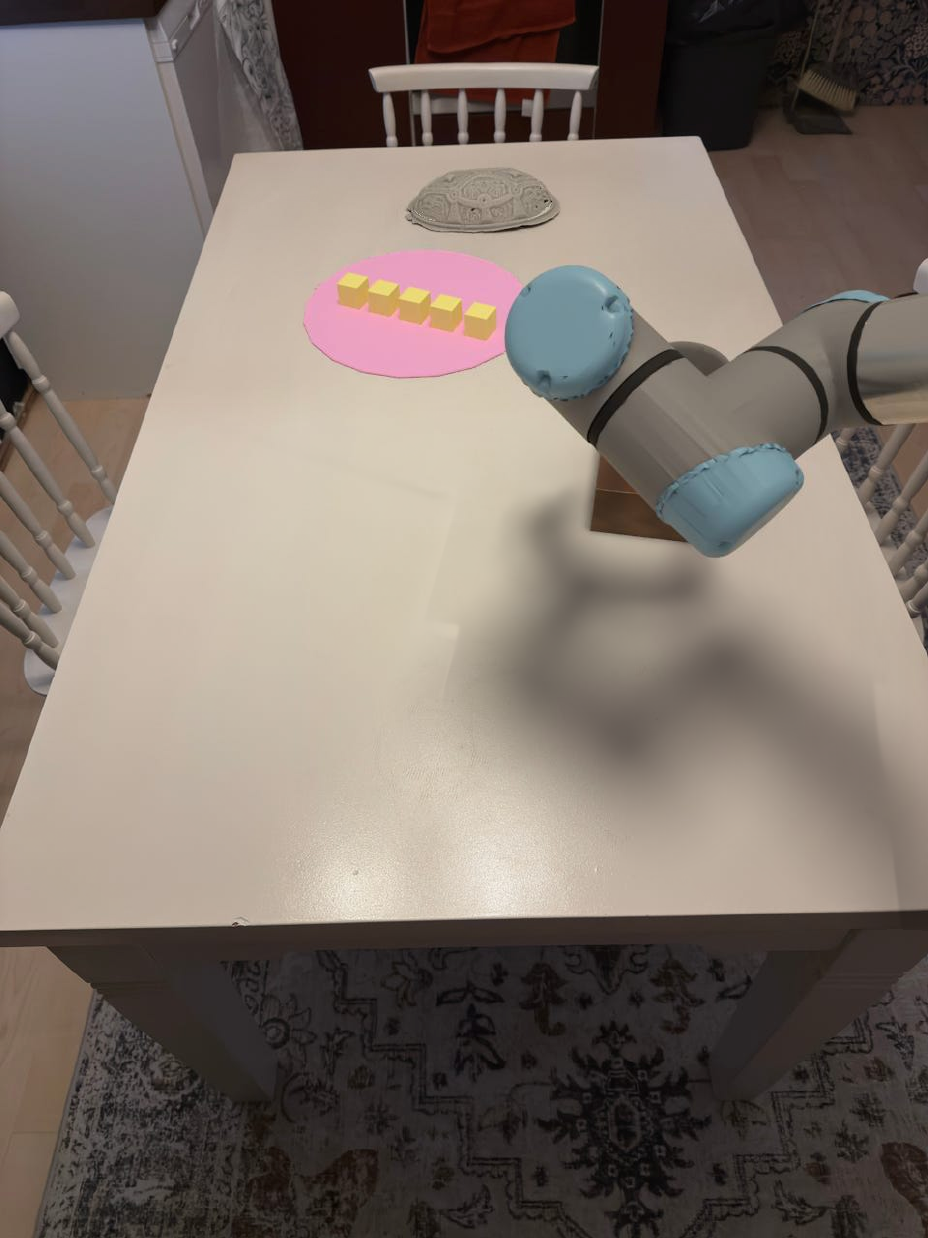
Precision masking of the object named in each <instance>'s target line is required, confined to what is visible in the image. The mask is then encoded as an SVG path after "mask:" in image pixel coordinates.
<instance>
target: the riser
mask: <svg viewBox="0 0 928 1238" xmlns="http://www.w3.org/2000/svg"><path fill="white" fill-rule="evenodd" d="M592 506H593V507H592V512H591V513H592V514H591V519H590V521H591V522H590V528H589V529H590V531H593V532H594V531H595V532H602V533H611V534H619V535H629V536H635V537H636V536H637V537H644V538H651V539H652V538H653V539H662V540H668V541H669V540H671V541H678V542H686V543H689V542H688V541H687V540H686V539H685V538H684V537H683V536H682V535H680V534H679V533H678V532H677V531H676V530H675V529H674V528H673V527H672V526H671V525H668V524H665V523H664V522H663V521H662V520H661V519H660V518H659V517H657V514H656V512H655V511H654V510H653V509H652V508H651V507H650V506H649V505H648V503H647V502H646V501H645V500H644V499H643V498H642V497H641V496H640V495H639V494H638V493H637V492H636V491H635V490H634V489H633V488H632V487H631V486H630V485H629V484H628V482H627V481H626V480H625V479H624V478H623V477H622V476H621V475H620V474H619V473H618V472H617V471H616V470H615V469H614V468H613V467H612V466H611V465H610V464H609V462H608V461H607V460H606V459H605V458H604V457H603V456H602V455H601V454H600V456H599V463H598V470H597V477H596V484H595V491H594V499H593V505H592Z"/></svg>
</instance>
